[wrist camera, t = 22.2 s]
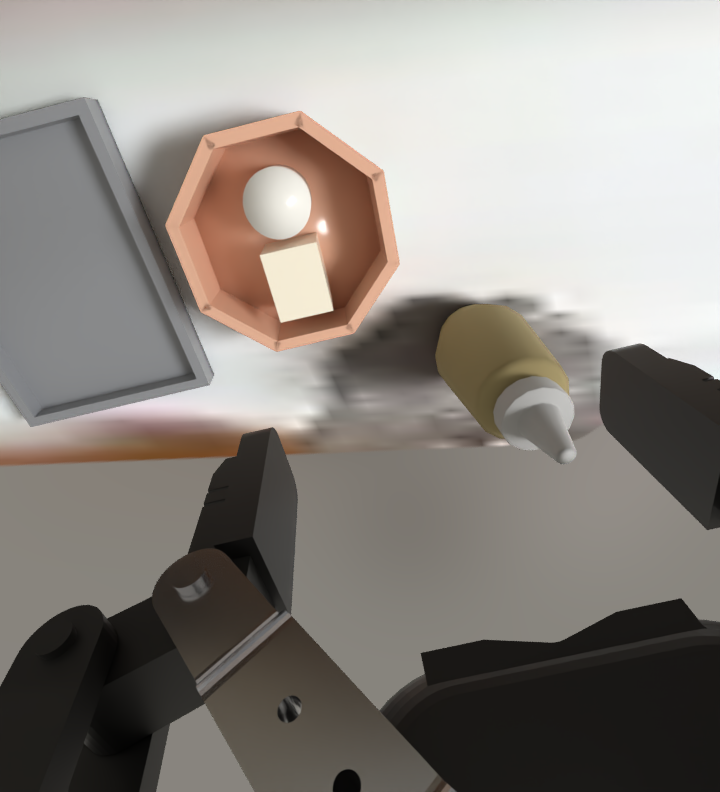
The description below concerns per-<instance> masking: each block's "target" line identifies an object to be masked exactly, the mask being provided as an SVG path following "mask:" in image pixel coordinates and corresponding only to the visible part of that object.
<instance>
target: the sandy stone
mask: <svg viewBox="0 0 720 792" xmlns="http://www.w3.org/2000/svg"><path fill="white" fill-rule="evenodd" d="M260 258H261V261H262V264H263V268H264V271H265V274H266V277H267V280H268V284H269V287H270V290H271V293H272V296H273V300H274V303H275V306H276V309H277V312H278V316H279V319H280V322H281V323H282V322H287V321H291V320H295V319H300V318H304V317H308V316H313V315H317V314H321V313H326V312H330V311H333V300H332V293H331V289H330V285H329V281H328V277H327V273H326V268H325V264H324V260H323V256H322V252H321V248H320V244H319V240H318V236H317V232H315V233H311V234H306V235H302V236H298V237H294V238H289V239H285V240H281V241H277V242H272V243H268V244H265V246H264V248H263V250H262V252H261V254H260Z"/></svg>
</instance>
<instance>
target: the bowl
mask: <svg viewBox="0 0 720 792" xmlns="http://www.w3.org/2000/svg"><path fill="white" fill-rule="evenodd" d="M279 164H281V165H286V166H290V167H292V168H294V169H295V170H297V171H298V172H299V173H300V174H301V175H302V176H303V177H304V178H305V179H306V181H307V183H308V185H309V187H310V191H311V197H312V202H311V211H310V216H309V219H308V221H307V223H306V225H305V227H304V228H303V229H302V230H301V231H300V232H299V233H298V234H296V235H295V236H293V237H290V238H294V237H298V236H302V235H306V234H311V233H315V232H317V236H318V240H319V244H320V248H321V252H322V256H323V260H324V264H325V268H326V273H327V277H328V281H329V285H330V289H331V293H332V300H333V311H330V312H326V313H321V314H317V315H313V316H308V317H304V318H300V319H295V320H291V321H287V322H282V323H281V322H280V319H279V316H278V312H277V309H276V306H275V303H274V300H273V296H272V293H271V290H270V287H269V284H268V280H267V277H266V274H265V271H264V268H263V264H262V261H261V258H260V254H261V252H262V250H263V248H264V246H265V244H268V243H272V242H277V241H281V240H285V239H279V240H278V239H272V238H268V237H266V236H264V235H262V234H260V233H259V232H258V231H256V230H255V229H254V228H253V227H252V225H251V224H250V223H249V221H248V219H247V217H246V215H245V212H244V208H243V193H244V189H245V187H246V184H247V182H248V181H249V179H250V178H251V177H252V176H253V175H254V174H255V173H257V172H258V171H260V170H262V169H264V168H266V167H268V166H271V165H279ZM165 226H166V229H167V231H168V234H169V236H170V239H171V241H172V243H173V246H174V248H175V251H176V253H177V256H178V258H179V261H180V263H181V265H182V268H183V270H184V273H185V275H186V278H187V280H188V283H189V285H190V287H191V290H192V292H193V295H194V297H195V300H196V302H197V305H198V307H199V309H200V312H201V313H203V314H205V315H207V316H209V317H211V318H213V319H215V320H217V321H219V322H220V323H222V324H224V325H226V326H228V327H230V328H232V329H234V330H236V331H238V332H239V333H241V334H243V335H245V336H247V337H249V338H251V339H253V340H255V341H257V342H259V343H260V344H262V345H264V346H266V347H268V348H270V349H272V350H274V351H277V352H278V351H282V350H286V349H291V348H295V347H299V346H303V345H307V344H312V343H316V342H320V341H324V340H329V339H333V338H337V337H341V336H346V335H350V334H354V333H355V331H356V330H357V328H358V327H359V325H360V324H361V322H362V321H363V319H364V318H365V316H366V315H367V313H368V312H369V310H370V309H371V307H372V305H373V304H374V302H375V301H376V299H377V298H378V296H379V295H380V293H381V292H382V290H383V289H384V287H385V286H386V284H387V283H388V281H389V280H390V278H391V277H392V275H393V274H394V272H395V271H396V269H397V267H398V266H399V264H400V263H399V257H398V251H397V245H396V240H395V234H394V228H393V222H392V217H391V211H390V205H389V199H388V194H387V188H386V182H385V176H384V171H383V170H382V169H380V168H379V167H378V166H376V165H375V164H373V163H372V162H371V161H369V160H368V159H367V158H365V157H364V156H362V155H361V154H360V153H358V152H357V151H355V150H354V149H353V148H351V147H350V146H349V145H347V144H346V143H344V142H343V141H342V140H340V139H339V138H338V137H336V136H335V135H333V134H332V133H331V132H329V131H328V130H326V129H325V128H324V127H322V126H321V125H320V124H318V123H317V122H315V121H314V120H313V119H311V118H310V117H309V116H307V115H306V114H304V113H303V112H302V111H297V112H293V113H289V114H285V115H281V116H277V117H273V118H269V119H265V120H261V121H258V122H254V123H250V124H246V125H242V126H238V127H234V128H230V129H226V130H222V131H218V132H215V133H211V134H207V135H204V136H203V137H202V139H201V142H200V144H199V146H198V149H197V151H196V153H195V156H194V158H193V161H192V163H191V165H190V168H189V170H188V172H187V175H186V177H185V179H184V182H183V184H182V186H181V189H180V191H179V194H178V196H177V198H176V201H175V203H174V205H173V208H172V210H171V212H170V215H169V217H168V219H167V222H166V224H165ZM287 239H289V238H287Z"/></svg>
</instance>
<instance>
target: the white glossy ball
mask: <svg viewBox="0 0 720 792" xmlns="http://www.w3.org/2000/svg"><path fill="white" fill-rule="evenodd" d="M311 202H312V197H311V191H310V187H309V185H308V183H307V181H306V179H305V178H304V177H303V176H302V175H301V174H300V173H299V172H298V171H297V170H295V169H294V168H292V167H290V166H286V165H281V164H279V165H271V166H268V167H266V168H264V169H262V170H260V171H258V172H257V173H255V174H254V175H253V176H252V177H251V178H250V179H249V181H248V182H247V184H246V187H245V189H244V193H243V208H244V212H245V215H246V217H247V219H248V221H249V223H250V224H251V225H252V227H253V228H254V229H255V230H256V231H258V232H259V233H260V234H262V235H264V236H266V237H268V238H272V239H278V240H279V239H287V238H290V237H293V236H295V235H296V234H298V233H299V232H300V231H301V230H302V229H303V228H304V227H305V225H306V223H307V221H308V219H309V216H310V211H311Z"/></svg>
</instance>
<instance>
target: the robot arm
mask: <svg viewBox="0 0 720 792" xmlns="http://www.w3.org/2000/svg"><path fill="white" fill-rule="evenodd" d="M600 414H601V418H602V421H603V423H604V426H605V427H606V429H607V430H608V432H609V433H610V434H611V435H612V436H613V437H614V438H615V439H616V440H617V441H618V442H619V443H620V444H621V445H622V446H623V447H624V448H625V449H626V450H627V451H628V452H629V453H630V454H631V455H633V457H634V458H635V459H636V460H637V461H638V462H639V463H641V464H642V465H643V467H644V468H645V469H647V470H648V471H649V473H650V474H651V475H653V477H655V478H656V479H657V480H658V481H659V482H660V483H661V484H662V485H663V486H664V487H665V488H666V489H667V490H668V491H669V492H670V493H671V494H672V495H673V496H674V497H675V498H676V499H677V500H678V501H679V502H680V503H681V504H682V505H683V506H684V507H685V508H686V509H687V510H688V511H689V512H690V513H691V514H692V515H693V516H694V517H695V518H696V519H697V520H698V521H699V522H700V523H701V524H702V525H703V526H704V527H705V528H706V529H707V530H709V529H714V528H719V527H720V380H718V379H715V380H714V377H713V376H711V375H710V374H708V373H706V372H705V371H703V370H701V369H699V368H698V367H696V366H694V365H691V364H687V363H684V362H681V361H677V360H674V359H671V358H668V359H667V358H665V357H664V356H662V355H661V354H659V353H657V352H656V351H654V350H652V349H651V348H649V347H648V346H646V345H644V344H635V345H631V346H627V347H622V348H618V349H614V350H609V351H607V352H605V354H604V355H603V358H602V368H601V389H600ZM208 492H209V493H207V495H206V498H205V502H204V507H203V508H202V511H201V514H200V517H199V520H198V524H197V527H196V530H195V533H194V536H193V539H192V542H191V545H190V549H189V552H188V554H187V555H185V556H183V557H182V558H180V559H178V560H177V561H176V562H174V563H173V564H172V565H171V566H169V567H168V568H167V569H166V570H165V572H164V573H163V574H162V575H161V576H160V578H159V579H158V581H157V583H156V585H155V587H154V590H153V593H152V597H150V598H148V599H146V600H145V601H142V602H140V603H138V604H136V605H134V606H132V607H130V608H128V609H126V610H124V611H122V612H120V613H118V614H116V615H114V616H112V617H110V618H108V619H107V618H106V617H105V616H104V615H103V614H102V612H101V611H100V610H99V609H98V608H97V607H94V606H90V605H81V606H76V607H73V608H70V609H68V610H66V611H64V612H61V613H60V614H58V615H56V616H55V617H53V618H52V619H50V620H49V621H47V622H46V623H45V624H43V626H41V627H40V628H39V629H38V630H37V631H36V632H34V634H33V635H32V636H31V637H30V638H29V639H28V640H27V641H26V643H25V644H24V645H23V647H22V648H21V650H20V651H19V653H18V655H17V656H16V658H15V660H14V662H13V664H12V666H11V668H10V669H9V671H8V673H7V675H6V677H5V679H4V681H3V682H2V684H1V686H0V792H156V789H157V784H158V779H159V774H160V769H161V765H162V759H163V754H164V750H165V745H166V740H167V735H168V731H169V726H170V723H172V722H173V721H175V720H177V719H179V718H180V717H182V716H184V715H186V714H187V713H189V712H191V711H193V710H194V709H196V708H198V707H200V706H201V705H203V704H206V706H207V708H208V710H209V711H210V713H211V715H212V717H213V718H214V721H215V722H216V724H217V726H218V728H219V730H220V731H221V733H222V735H223V737H224V738H225V740H226V742H227V744H228V745H229V747H230V749H231V751H232V753H233V754H234V756H235V758H236V760H237V761H238V763H239V765H240V767H241V769H242V770H243V772H244V774H245V776H246V777H247V779H248V781H249V783H250V785H251V786H252V788H253V790H254V792H720V622H716V621H709V620H698V619H697V618H696V616H695V615H694V614H693V612H692V611H691V610H690V609H689V608H688V606H687V605H686V604H685V602H684V601H683V600H682V599H676V600H672V601H666V602H662V603H657V604H653V605H648V606H643V607H638V608H633V609H628V610H624V611H619V612H615V613H614V614H612V615H610V616H608V617H606V618H604V619H602V620H600V621H598V622H597V623H595V624H593V625H591V626H589V627H587V628H585V629H583V630H582V631H580V632H578V633H576V634H574V635H572V636H570V637H568V638H567V639H565V640H562V641H560V642H555V643H544V642H522V641H499V640H481V641H476V642H472V643H466V644H462V645H457V646H452V647H447V648H443V649H438V650H434V651H429V652H423V653H421V656H422V661H423V666H424V671H425V674H424V675H422V676H420V677H418V678H416V679H414V680H413V681H411V682H410V683H408V684H407V685H406V686H404V687H403V688H402V689H400V690H399V691H398V692H397V693H396V694H395V695H394V696H392V697H391V698H390V699H389V700H388V701H387V702H386V704H385V705H384V706H383V707H382V708H381V710H380V711H379V710H378V709H377V708H376V706H374V705H373V703H372V702H371V701H370V700H369V699H368V698H367V697H366V696H365V695H364V694H363V693H362V691H361V690H360V689H359V688H358V687H357V686H356V685H355V684H354V683H353V682H352V681H351V680H350V678H349V677H348V676H347V675H346V674H345V673H344V672H343V671H342V670H341V669H340V668H339V666H338V665H337V664H336V663H335V662H334V661H333V660H332V659H331V658H330V657H329V656H328V655H327V653H326V652H325V651H324V650H323V649H322V648H321V647H320V646H319V645H318V644H317V643H316V642H315V641H314V639H313V638H312V637H311V636H310V635H309V634H308V633H307V632H306V631H305V630H304V629H303V628H302V626H300V624H299V623H298V622H297V621H296V620H295V619H294V618H293V617H292V616H291V606H292V589H293V572H294V555H295V537H296V520H297V519H296V518H297V503H298V502H297V501H298V499H297V489H296V484H295V480H294V476H293V474H292V471H291V468H290V465H289V463H288V460H287V457H286V455H285V452H284V449H283V447H282V444H281V441H280V439H279V436H278V434H277V432H276V430H275V429H274V428H273V427H272V428H268V429H263V430H259V431H255V432H250V433H246V434H243V435H242V438H241V441H240V445H239V449H238V453H237V456H236V457H232V458H227V459H225V461H224V462H223V463H222V464H221V465H220V467H219V468H218V469H217V470H216V472H215V473H214V474H213V476H212V479H211V483H210V486H209V489H208Z"/></svg>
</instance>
